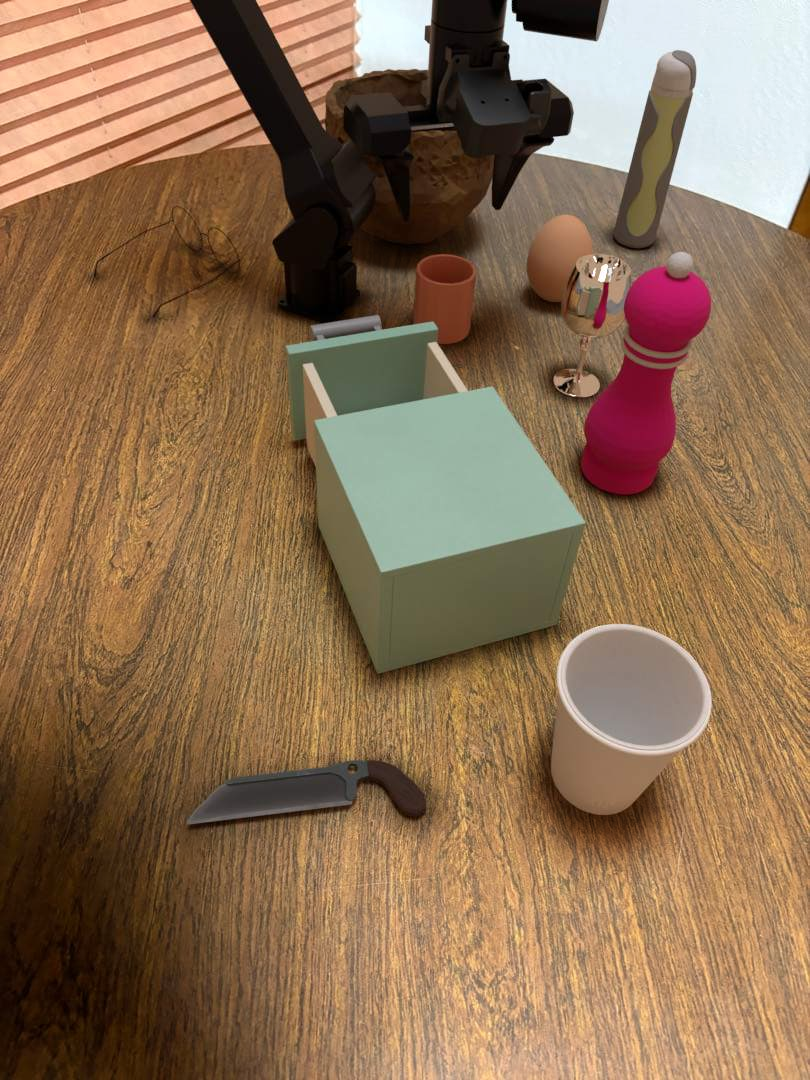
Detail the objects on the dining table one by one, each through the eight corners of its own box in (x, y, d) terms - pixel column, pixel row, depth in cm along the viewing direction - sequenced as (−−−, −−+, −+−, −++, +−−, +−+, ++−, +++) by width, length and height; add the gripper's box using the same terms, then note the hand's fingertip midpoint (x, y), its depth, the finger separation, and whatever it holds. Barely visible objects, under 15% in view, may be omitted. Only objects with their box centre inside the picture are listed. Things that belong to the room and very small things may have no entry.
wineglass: (605, 406, 79) (636, 290, 70) (543, 396, 80) (566, 280, 71) (608, 370, 83) (638, 255, 74) (548, 361, 84) (571, 246, 75)
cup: (403, 333, 86) (406, 274, 81) (427, 306, 89) (432, 248, 84) (455, 350, 84) (461, 291, 79) (478, 322, 88) (485, 263, 83)
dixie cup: (665, 848, 51) (718, 766, 43) (524, 822, 51) (553, 736, 44) (661, 726, 56) (708, 635, 49) (534, 704, 57) (561, 610, 50)
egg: (582, 285, 93) (600, 204, 87) (585, 318, 89) (604, 236, 82) (521, 279, 94) (534, 198, 87) (521, 312, 89) (534, 229, 82)
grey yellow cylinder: (613, 227, 103) (656, 43, 88) (654, 233, 102) (704, 48, 88) (611, 247, 99) (656, 59, 85) (653, 253, 99) (706, 64, 84)
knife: (416, 756, 54) (417, 751, 53) (427, 817, 51) (428, 812, 51) (188, 783, 52) (186, 778, 51) (187, 847, 49) (185, 842, 49)
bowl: (388, 179, 109) (392, 50, 98) (515, 227, 102) (535, 93, 91) (290, 235, 98) (282, 97, 87) (424, 292, 91) (434, 150, 80)
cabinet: (318, 525, 67) (313, 419, 59) (477, 490, 71) (493, 385, 63) (377, 674, 58) (380, 572, 50) (557, 625, 62) (586, 522, 54)
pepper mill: (664, 454, 75) (741, 240, 60) (653, 509, 70) (733, 290, 55) (583, 434, 76) (638, 219, 62) (566, 486, 71) (622, 267, 57)
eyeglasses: (158, 323, 85) (150, 276, 81) (87, 273, 91) (76, 228, 87) (247, 282, 91) (243, 238, 87) (175, 238, 96) (168, 195, 93)
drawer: (277, 398, 76) (270, 311, 70) (408, 374, 80) (412, 289, 73) (336, 543, 65) (334, 455, 58) (487, 508, 68) (500, 422, 62)
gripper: (387, 67, 59) (382, 273, 70) (625, 48, 64) (583, 243, 75) (340, 15, 66) (342, 210, 77) (557, 2, 71) (529, 187, 82)
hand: (450, 214), depth 78 cm, fingers open, 9 cm apart
